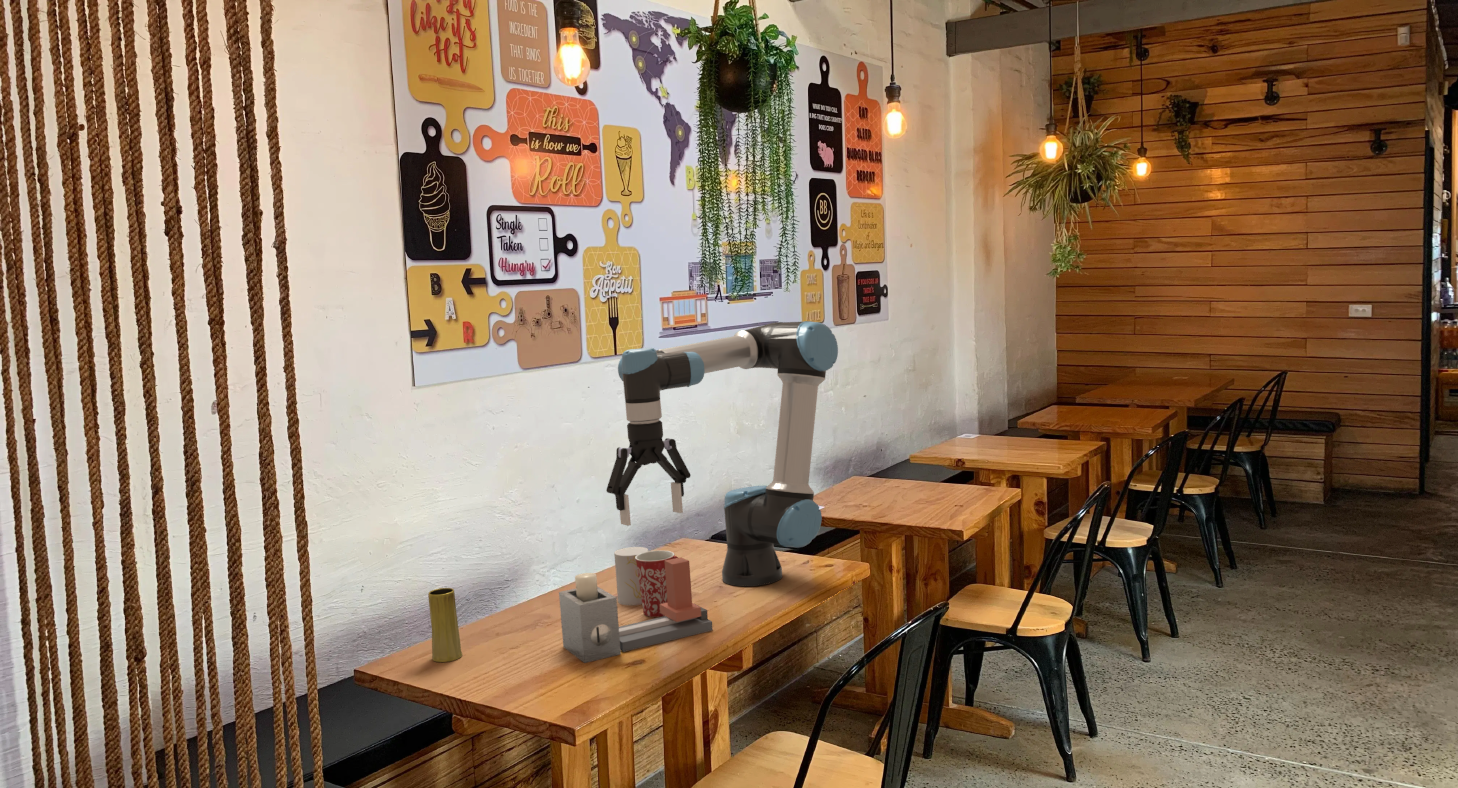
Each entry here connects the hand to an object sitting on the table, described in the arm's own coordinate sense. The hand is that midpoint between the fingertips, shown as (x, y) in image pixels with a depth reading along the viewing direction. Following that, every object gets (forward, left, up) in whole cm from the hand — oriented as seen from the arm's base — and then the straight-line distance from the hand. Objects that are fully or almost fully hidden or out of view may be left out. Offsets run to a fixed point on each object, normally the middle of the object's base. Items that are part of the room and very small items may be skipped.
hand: (652, 518), depth 230 cm
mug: (-7, -12, -25) cm, 29 cm away
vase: (+43, -13, -25) cm, 52 cm away
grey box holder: (+17, +3, -25) cm, 30 cm away
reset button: (+17, +3, -14) cm, 22 cm away
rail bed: (+2, +3, -25) cm, 25 cm away
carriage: (-4, +3, -21) cm, 22 cm away
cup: (-5, -24, -25) cm, 35 cm away
